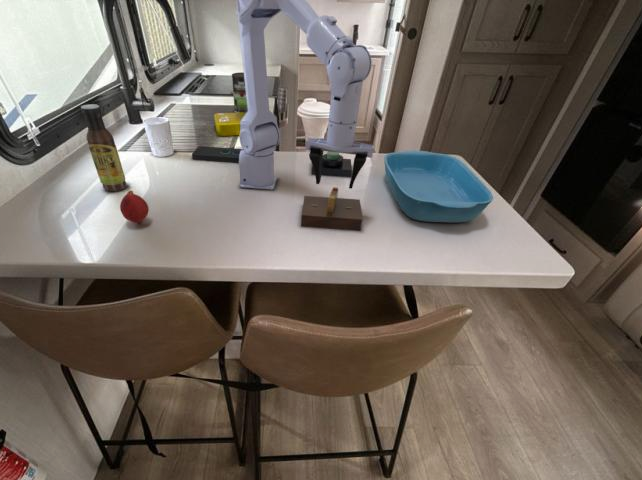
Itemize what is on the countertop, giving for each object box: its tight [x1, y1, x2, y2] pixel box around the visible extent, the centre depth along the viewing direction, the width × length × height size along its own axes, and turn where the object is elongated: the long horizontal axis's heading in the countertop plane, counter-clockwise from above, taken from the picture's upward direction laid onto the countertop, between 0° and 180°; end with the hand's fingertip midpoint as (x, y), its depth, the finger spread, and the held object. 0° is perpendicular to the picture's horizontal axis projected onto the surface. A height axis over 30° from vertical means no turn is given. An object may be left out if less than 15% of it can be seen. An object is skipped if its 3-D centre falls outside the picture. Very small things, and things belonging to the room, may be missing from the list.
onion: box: [119, 189, 150, 224], centre depth 75 cm, size 6×6×8 cm
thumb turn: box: [327, 186, 339, 212], centre depth 78 cm, size 6×1×4 cm, turn 164°
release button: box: [326, 151, 340, 160], centre depth 101 cm, size 4×4×2 cm
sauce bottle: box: [80, 103, 127, 192], centre depth 84 cm, size 6×6×20 cm
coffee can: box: [231, 71, 248, 113], centre depth 145 cm, size 10×10×14 cm
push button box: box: [310, 153, 353, 178], centre depth 102 cm, size 12×9×4 cm
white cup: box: [142, 116, 175, 158], centre depth 107 cm, size 8×8×10 cm
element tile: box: [213, 112, 247, 137], centre depth 129 cm, size 15×15×5 cm
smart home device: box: [191, 145, 244, 164], centre depth 109 cm, size 8×2×20 cm
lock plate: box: [300, 195, 363, 232], centre depth 81 cm, size 14×10×3 cm
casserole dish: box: [384, 150, 494, 223], centre depth 89 cm, size 37×22×7 cm, turn 179°
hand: (334, 184), depth 77 cm, fingers open, 7 cm apart
